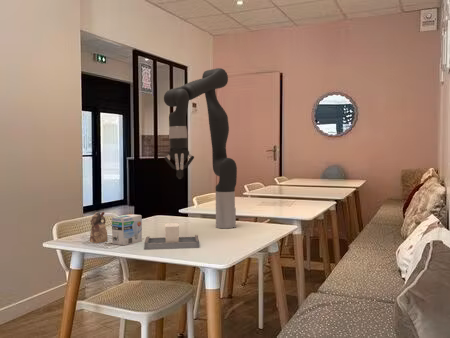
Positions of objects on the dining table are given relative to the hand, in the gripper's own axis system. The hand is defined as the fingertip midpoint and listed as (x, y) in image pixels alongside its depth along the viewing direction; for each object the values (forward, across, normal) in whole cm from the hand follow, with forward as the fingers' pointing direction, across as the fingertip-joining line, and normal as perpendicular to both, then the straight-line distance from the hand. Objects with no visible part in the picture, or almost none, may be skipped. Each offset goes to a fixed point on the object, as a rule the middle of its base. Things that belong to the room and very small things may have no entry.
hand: (180, 178), depth 182 cm
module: (+25, +5, +15) cm, 29 cm away
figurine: (+24, +34, +2) cm, 42 cm away
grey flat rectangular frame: (+25, +5, +15) cm, 29 cm away
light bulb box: (+24, +22, +6) cm, 34 cm away
